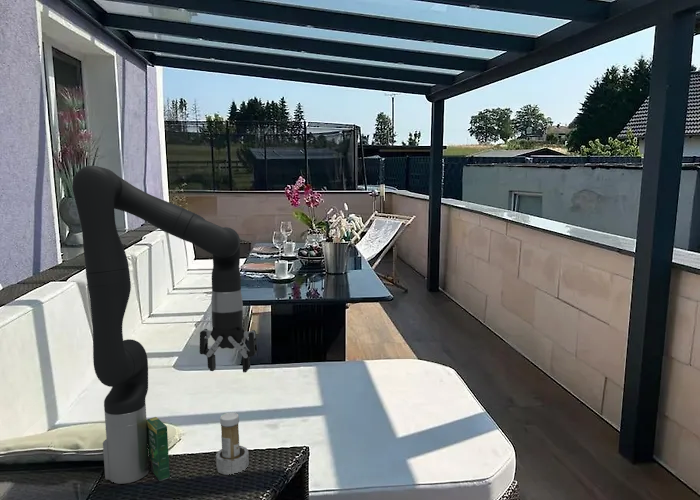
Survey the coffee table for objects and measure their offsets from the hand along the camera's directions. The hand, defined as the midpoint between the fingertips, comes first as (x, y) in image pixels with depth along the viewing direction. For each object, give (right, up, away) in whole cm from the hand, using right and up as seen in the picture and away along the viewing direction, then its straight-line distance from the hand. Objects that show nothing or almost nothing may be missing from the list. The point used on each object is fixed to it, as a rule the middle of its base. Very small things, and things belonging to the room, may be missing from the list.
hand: (229, 370), depth 130 cm
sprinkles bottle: (0, -25, 0) cm, 25 cm away
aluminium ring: (+1, -24, 0) cm, 24 cm away
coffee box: (-17, -25, -2) cm, 30 cm away
